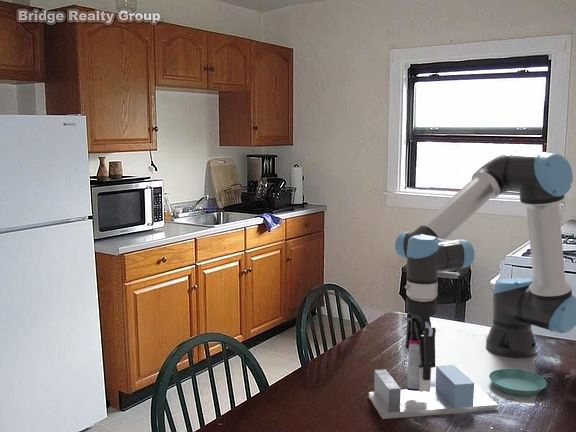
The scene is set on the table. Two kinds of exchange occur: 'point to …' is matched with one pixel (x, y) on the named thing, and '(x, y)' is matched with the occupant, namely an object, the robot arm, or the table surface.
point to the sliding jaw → (455, 386)
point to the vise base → (419, 400)
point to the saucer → (517, 381)
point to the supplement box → (413, 366)
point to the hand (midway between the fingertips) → (418, 384)
